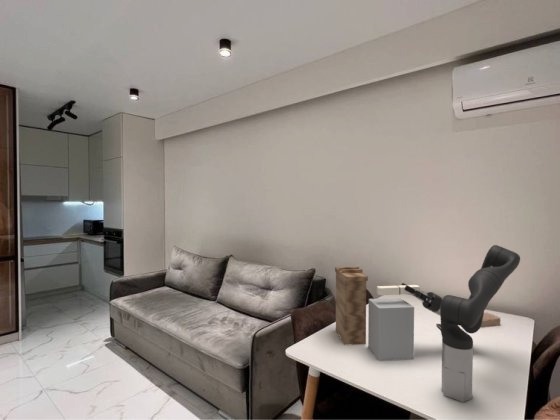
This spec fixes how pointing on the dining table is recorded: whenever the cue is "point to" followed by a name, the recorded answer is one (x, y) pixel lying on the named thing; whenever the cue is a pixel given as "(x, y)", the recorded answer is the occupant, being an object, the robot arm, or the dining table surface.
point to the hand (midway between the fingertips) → (403, 286)
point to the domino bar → (395, 289)
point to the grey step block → (391, 329)
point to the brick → (490, 320)
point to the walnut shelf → (351, 304)
